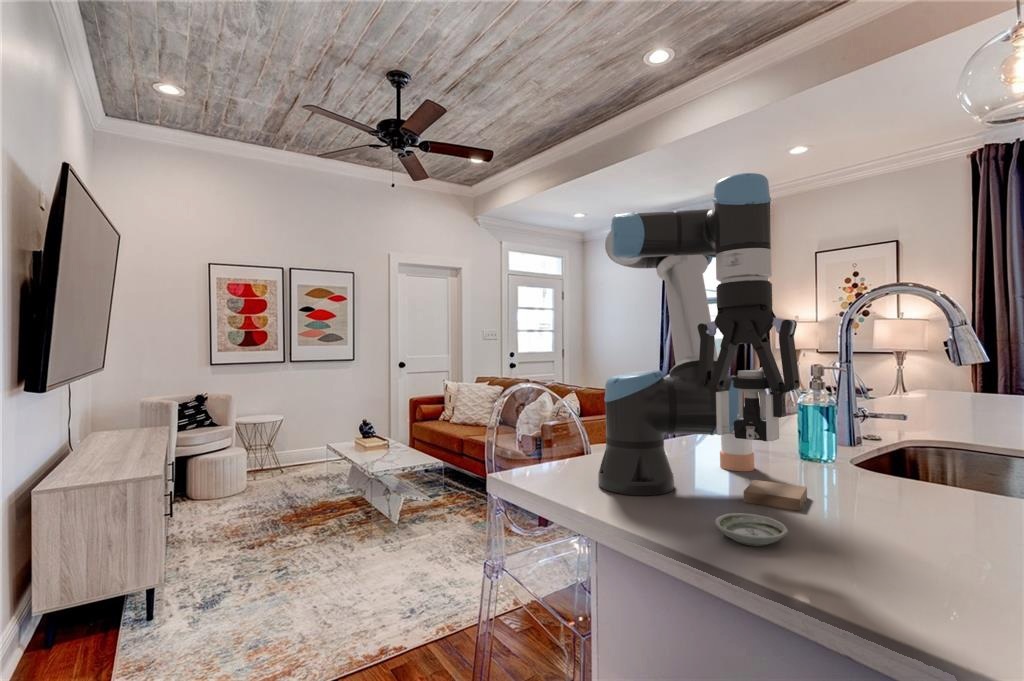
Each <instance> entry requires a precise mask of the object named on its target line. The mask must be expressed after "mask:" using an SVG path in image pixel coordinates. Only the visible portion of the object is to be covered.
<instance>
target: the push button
mask: <svg viewBox="0 0 1024 681" xmlns="http://www.w3.org/2000/svg"><path fill="white" fill-rule="evenodd" d="M736 376H737V377H732V380H733V387H734V388H738V396H739V415H737V418H743V419H737V420H736V421H734V427H733V426H732V427H731V426H724V427H726V428H734V433H733V432H732V433H731V432H724V433H726V434H735V438H738V439H750V440H752V441H763V442H768V441H767V432H766V390H768V389H770V387H769V384H768V382H767V379H766V376H765V374H764V371H763V370H761V369H760V370H758V369H753V370H752V369H751V370H750V369H749V370H748V369H743V370H737V374H736ZM744 392H745V396H746V397H745V406H744Z"/></svg>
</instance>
